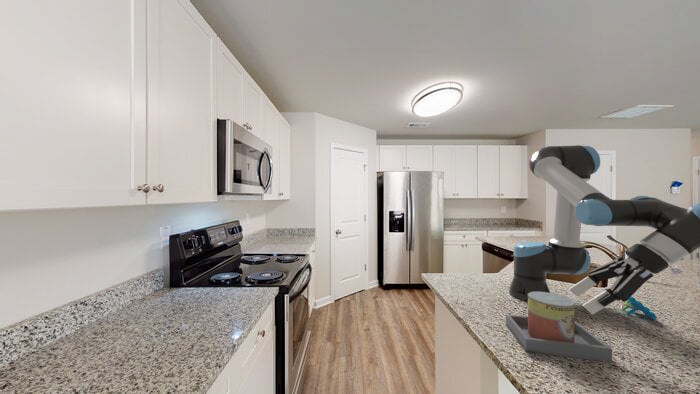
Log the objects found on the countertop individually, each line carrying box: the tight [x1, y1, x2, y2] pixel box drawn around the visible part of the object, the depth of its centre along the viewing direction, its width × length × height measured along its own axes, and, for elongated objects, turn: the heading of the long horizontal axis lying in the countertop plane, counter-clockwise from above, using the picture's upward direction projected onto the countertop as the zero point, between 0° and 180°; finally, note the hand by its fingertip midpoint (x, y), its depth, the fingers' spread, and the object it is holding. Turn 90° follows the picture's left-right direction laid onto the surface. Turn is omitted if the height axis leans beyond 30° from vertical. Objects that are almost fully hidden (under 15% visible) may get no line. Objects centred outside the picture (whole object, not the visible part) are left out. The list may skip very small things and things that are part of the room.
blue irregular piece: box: [621, 296, 658, 320], centre depth 96 cm, size 11×6×10 cm
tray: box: [505, 313, 613, 363], centre depth 79 cm, size 16×20×4 cm
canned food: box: [527, 291, 576, 343], centre depth 79 cm, size 11×11×12 cm
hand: (579, 300), depth 75 cm, fingers open, 13 cm apart
